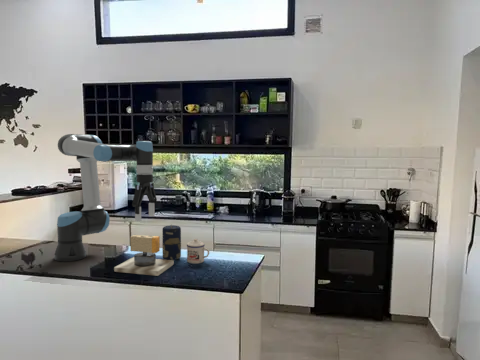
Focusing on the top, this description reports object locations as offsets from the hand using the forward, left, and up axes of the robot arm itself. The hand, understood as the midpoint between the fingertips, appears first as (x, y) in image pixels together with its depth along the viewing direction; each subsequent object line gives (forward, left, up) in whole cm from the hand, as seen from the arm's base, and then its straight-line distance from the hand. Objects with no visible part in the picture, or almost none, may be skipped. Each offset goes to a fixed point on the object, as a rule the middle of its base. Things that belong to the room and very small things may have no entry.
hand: (145, 218), depth 181 cm
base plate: (0, 0, -24) cm, 24 cm away
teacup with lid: (+21, +17, -24) cm, 36 cm away
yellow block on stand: (0, 0, -22) cm, 22 cm away
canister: (+6, +18, -24) cm, 31 cm away
